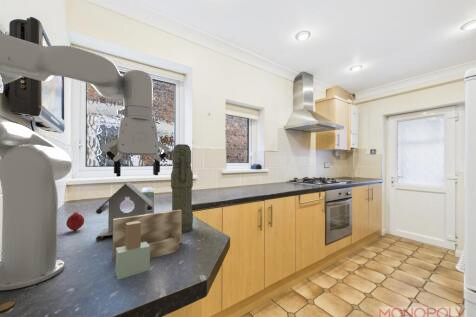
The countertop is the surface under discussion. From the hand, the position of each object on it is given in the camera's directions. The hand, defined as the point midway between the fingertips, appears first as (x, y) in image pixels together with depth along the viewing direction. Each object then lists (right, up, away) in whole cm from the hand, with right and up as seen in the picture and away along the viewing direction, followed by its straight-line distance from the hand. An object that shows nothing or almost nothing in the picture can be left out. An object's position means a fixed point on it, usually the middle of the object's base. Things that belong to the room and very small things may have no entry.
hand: (137, 175), depth 59 cm
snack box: (-16, -26, +43) cm, 53 cm away
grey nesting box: (-15, -25, +22) cm, 36 cm away
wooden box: (+3, -24, +4) cm, 24 cm away
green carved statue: (+5, -25, +27) cm, 37 cm away
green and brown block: (+2, -23, -7) cm, 25 cm away
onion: (-38, -25, +26) cm, 53 cm away
